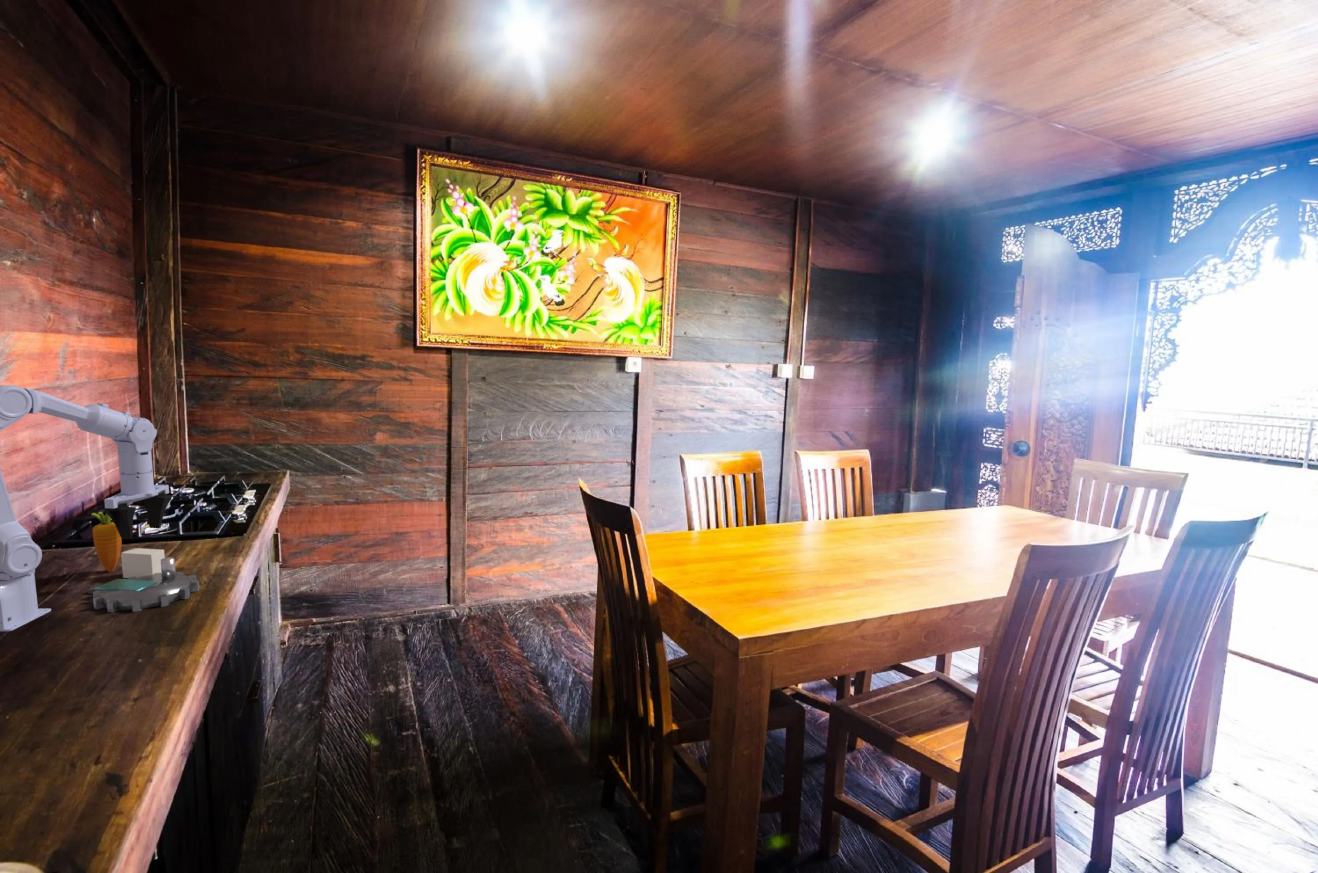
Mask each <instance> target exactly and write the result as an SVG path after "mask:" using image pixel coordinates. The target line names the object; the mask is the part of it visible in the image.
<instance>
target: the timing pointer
mask: <svg viewBox="0 0 1318 873" xmlns="http://www.w3.org/2000/svg"><path fill="white" fill-rule="evenodd" d="M95 587H96V586H92V587H90V588H88V589H87V593H88V594H89V595H93V592H94V591H99V590H103V589H95Z"/></svg>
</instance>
